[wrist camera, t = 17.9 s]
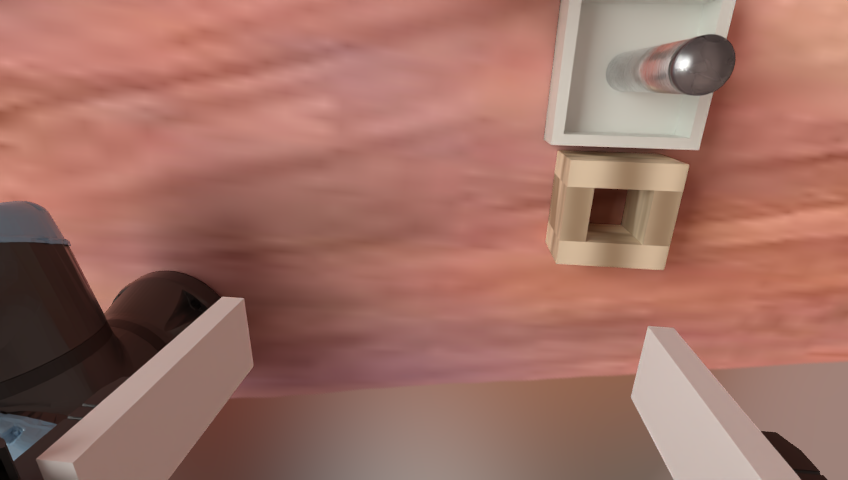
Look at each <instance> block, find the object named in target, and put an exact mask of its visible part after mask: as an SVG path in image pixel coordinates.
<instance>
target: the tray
mask: <svg viewBox="0 0 848 480" xmlns="http://www.w3.org/2000/svg"><path fill="white" fill-rule="evenodd" d="M735 3H736V0H560V9H559V17H558V25H557V34H556V42H555V50H554V59H553V67H552V75H551V84H550V92H549V100H548V109H547V117H546V125H545V134H544V140H545V141H547V142H548V143H549V144H551V145H568V146H596V147H624V148H652V149H680V150H699V148H700V144H701V140H702V136H703V132H704V128H705V124H706V120H707V116H708V112H709V107H710V103H711V99H712V95H713V92H712V93H710V94H707V95H702V96H691V95H684V94H666V93H645V92H624V91H617V90H614V89H613V88H611V87H610V86H609V84H608V83H607V80H606V69H607V66H608V64H609V63H610V61H611V60H612V59H613V58H614V57H615V56H616V55H618V54H620V53H623V52H627V51H632V50H637V49H642V48H647V47H652V46H657V45H662V44H667V43H672V42H676V41H681V40H686V39H691V38H693V37H697V36H701V35H707V34H716V35H720V36H722V37H724V38H726V39H727V35H728V31H729V27H730V23H731V19H732V15H733V11H734V7H735Z"/></svg>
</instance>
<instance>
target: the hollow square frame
mask: <svg viewBox="0 0 848 480" xmlns="http://www.w3.org/2000/svg"><path fill="white" fill-rule="evenodd" d="M688 169H689V164H686V163H684V162H681V161H678V160H676V159H673V158H670V157H667V156H665V155H662V154H652V153H625V152H598V151H570V150H558V151H557V159H556V166H555V174H554V182H553V189H552V197H551V204H550V212H549V219H548V227H547V235H546V244H547V246H548V248H549V250H550V252H551V254H552V256H553V258H554V260H555V262H556V264H568V265H585V266H602V267H619V268H636V269H653V270H664V268H665V264H666V260H667V256H668V251H669V247H670V243H671V239H672V235H673V231H674V227H675V223H676V219H677V214H678V210H679V206H680V202H681V198H682V194H683V190H684V186H685V182H686V177H687V173H688ZM595 188H608V189H628V192H627V197H626V202H625V207H624V212H623V218H622V223H621V225H613V224H593V223H589V218H590V212H591V206H592V200H593V194H594V189H595Z"/></svg>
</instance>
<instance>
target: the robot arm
mask: <svg viewBox="0 0 848 480" xmlns="http://www.w3.org/2000/svg"><path fill="white" fill-rule="evenodd" d="M69 246H71V244H70V242H69V241H68V240H66V239H64V237H63V235H62V234H61V232H60V230H59V229H58V227H57V225H56V224H55V222H54V220H53V219H52V217H51V215H50V214H49V212H48V211H47V210H46V209H45V208H43V207H42V206H40V205H38V204H35V203H32V202H27V201H13V202H3V203H0V480H168V479H169V477H170V476H171V475H172V474H173V472H174V471H175V470H176V468H177V467H178V466H179V464H180V463H181V461H182V460H183V459H184V458H185V456H186V455H187V454H188V452H189V451H190V450H191V448H192V447H193V446H194V444H195V443H196V442H197V440H198V439H199V438H200V437H201V435H202V434H203V432H204V431H205V430H206V429H207V427H208V426H209V425H210V423H211V422H212V421H213V419H214V418H215V417H216V415H217V414H218V412H219V411H220V410H221V409H222V407H223V406H224V405H225V403H226V402H227V401H228V400H229V398H230V397H231V396H232V394H233V393H234V392H235V390H236V389H237V388H238V386H239V385H240V384H241V382H242V381H243V380H244V378H245V377H246V376H247V374H248V373H249V372H250V370H251V369H252V368H253V366H254V364H253V357H252V350H251V343H250V336H249V329H248V322H247V315H246V308H245V301H244V298H236V297H221V298H220V297H219V296H218V295H217V294H216V293H215V292H214V291H213V290H212V289H211V288H209V287H208V286H207V285H205V284H204V283H202V282H201V281H199V280H197V279H195V278H193V277H191V276H188V275H185V274H182V273H178V272H172V271H158V272H152V273H149V274H146V275H144V276H142V277H140V278H138V279H137V280H135V281H133V282H132V283H130V284H129V285H127V286H126V287H125V288H123V289H122V290H121V291H120V292H119V294H118V295H117V296H116V298H115V299H114V301H113V303H112V305H111V306H110V307H109V308H108V310H107V311H106V312H105V313H103V311H102V309H101V307H100V305H99V303H98V301H97V299H96V298H95V296H94V294H93V292H92V290H91V288H90V286H89V284H88V282H87V280H86V278H85V276H84V274H83V272H82V270H81V268H80V266H79V264H78V262H77V260H76V258H75V257H74V255H73V253H72V251H71V249H70V247H69ZM631 399H632V400H633V402H634V404H635V406H636V408H637V410H638V412H639V414H640V416H641V418H642V420H643V422H644V424H645V426H646V427H647V429H648V431H649V433H650V435H651V437H652V439H653V441H654V443H655V445H656V447H657V449H658V451H659V453H660V454H661V456H662V458H663V460H664V462H665V464H666V466H667V468H668V470H669V472H670V474H671V476H672V478H673V480H827V479H826V478H825V477H824V476H823V475H820V471H819V470H818V469H817V468H816V467H815V466H814V464H813V463H812V462H811V461H810V460H809V459H808V458H807V457H806V456H805V455H804V453H803V452H802V451H801V450H799V449H798V448H797V447H795V446H794V445H793V444H791V443H790V442H788V441H787V440H786V439H784V438H783V437H782V436H780V435H779V434H778V433H776V432H765V431H760V430H759V429H758V428H757V426H756V425H755V424H754V423H753V422H752V420H751V419H750V418H749V417H748V416H747V415H746V413H745V412H744V411H743V410H742V409H741V408H740V407H739V405H738V404H737V403H736V401H735V400H734V399H733V398H732V397H731V395H730V394H729V393H728V392H727V391H726V390H725V389H724V387H723V386H722V385H721V384H720V383H719V381H718V380H717V379H716V378H715V376H714V375H713V374H712V373H711V372H710V370H709V369H708V368H707V367H706V366H705V365H704V363H703V362H702V361H701V360H700V359H699V357H698V356H697V355H696V354H695V353H694V351H693V350H692V349H691V348H690V347H689V346H688V344H687V343H686V342H685V341H684V340H683V338H682V337H681V336H680V335H679V334H678V332H677V331H676V330H675V329H674V328H669V327H655V326H648V328H647V332H646V336H645V341H644V345H643V349H642V353H641V357H640V361H639V366H638V370H637V374H636V378H635V383H634V386H633V390H632V395H631Z"/></svg>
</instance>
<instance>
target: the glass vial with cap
mask: <svg viewBox="0 0 848 480" xmlns="http://www.w3.org/2000/svg"><path fill="white" fill-rule="evenodd" d="M734 65H735V52H734V49H733V46H732V45H731V43H730V42H729V41H728V40H727V39H726V38H724V37H722V36H720V35H716V34H707V35H701V36H697V37H693V38H691V39H686V40H681V41H676V42H672V43H667V44H662V45H657V46H652V47H647V48H642V49H637V50H632V51H627V52H623V53H620V54H618V55H616V56H615V57H614V58H613V59H612V60H611V61H610V63H609V64H608V66H607V69H606V80H607V83H608V84H609V86H610V87H611V88H613V89H614V90H617V91H624V92H645V93H666V94H684V95H691V96H702V95H707V94H710V93H712V92H714V91H716V90H717V89H719V88H720V87H721V86H723V85H724V84H725V82H726V81H727V80H728V79H729V77H730V75H731V74H732V71H733V69H734Z"/></svg>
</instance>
